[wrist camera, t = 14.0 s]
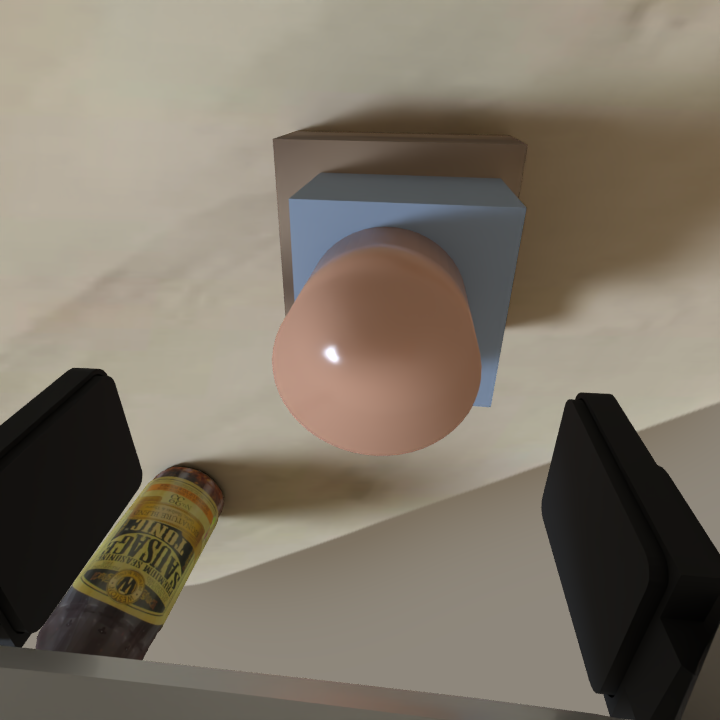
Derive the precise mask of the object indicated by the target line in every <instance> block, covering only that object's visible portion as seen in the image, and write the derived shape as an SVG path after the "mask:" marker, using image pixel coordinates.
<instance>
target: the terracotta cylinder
mask: <svg viewBox="0 0 720 720" xmlns="http://www.w3.org/2000/svg"><path fill="white" fill-rule="evenodd" d="M272 365H273V374H274V379H275V383H276V386H277V389H278V392H279V394H280V396H281V398H282V400H283V402H284V404H285V405H286V407H287V408H288V410H289V411H290V413H291V414H292V415H293V416H294V417H295V418H296V420H297V421H298V422H299V423H300V424H301V425H303V426H304V427H305V428H306V429H307V430H308V431H310V432H311V433H312V434H314V435H315V436H317V437H318V438H320V439H322V440H323V441H325V442H327V443H329V444H331V445H333V446H336V447H338V448H341V449H344V450H347V451H350V452H354V453H359V454H365V455H374V456H389V455H400V454H405V453H409V452H413V451H416V450H420V449H423V448H425V447H427V446H429V445H432V444H434V443H436V442H437V441H439V440H441V439H442V438H444V437H445V436H447V435H448V434H449V433H450V432H452V431H453V430H454V429H455V428H456V427H457V426H458V425H459V424H460V423H461V422H462V421H463V420H464V418H465V417H466V415H467V414H468V413H469V411H470V409H471V408H472V406H473V404H474V402H475V400H476V397H477V394H478V391H479V387H480V382H481V370H482V365H481V356H480V351H479V346H478V342H477V338H476V333H475V329H474V324H473V320H472V315H471V311H470V306H469V302H468V298H467V293H466V289H465V285H464V281H463V278H462V276H461V274H460V271H459V269H458V268H457V266H456V264H455V263H454V261H453V260H452V258H451V257H450V256H449V255H448V254H447V252H446V251H444V250H443V249H442V248H441V247H440V246H439V245H438V244H436V243H435V242H433V241H432V240H430V239H429V238H427V237H425V236H423V235H421V234H419V233H416V232H413V231H411V230H407V229H402V228H397V227H374V228H369V229H364V230H361V231H358V232H355V233H352V234H350V235H348V236H346V237H344V238H343V239H341V240H340V241H338V242H337V243H335V244H334V245H333V246H332V247H331V248H330V249H329V250H327V252H326V253H325V254H324V255H323V256H322V258H321V259H320V260H319V262H318V264H317V265H316V267H315V269H314V270H313V272H312V274H311V275H310V277H309V279H308V280H307V282H306V284H305V285H304V287H303V289H302V290H301V292H300V294H299V295H298V297H297V299H296V300H295V302H294V304H293V305H292V307H291V309H290V310H289V312H288V314H287V315H286V317H285V319H284V320H283V322H282V324H281V326H280V328H279V330H278V333H277V335H276V339H275V343H274V347H273V356H272Z"/></svg>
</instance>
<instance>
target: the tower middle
mask: <svg viewBox="0 0 720 720" xmlns="http://www.w3.org/2000/svg"><path fill="white" fill-rule="evenodd" d="M289 213H290V231H291V249H292V266H293V284H294V302H295V300H296V299H297V297H298V295H299V294H300V292H301V290H302V289H303V287H304V285H305V284H306V282H307V280H308V279H309V277H310V275H311V274H312V272H313V270H314V269H315V267H316V265H317V264H318V262H319V260H320V259H321V258H322V256H323V255H324V254H325V253H326V252H327V250H329V249H330V248H331V247H332V246H333V245H334V244H335V243H337V242H338V241H340V240H341V239H343V238H344V237H346V236H348V235H350V234H352V233H355V232H358V231H361V230H364V229H369V228H374V227H397V228H402V229H407V230H411V231H413V232H416V233H419V234H421V235H423V236H425V237H427V238H429V239H430V240H432V241H433V242H435V243H436V244H438V245H439V246H440V247H441V248H442V249H443V250H444V251H446V252H447V254H448V255H449V256H450V257H451V258H452V260H453V261H454V263H455V264H456V266H457V268H458V269H459V271H460V274H461V276H462V278H463V281H464V285H465V289H466V293H467V298H468V302H469V306H470V311H471V315H472V320H473V324H474V329H475V333H476V338H477V342H478V346H479V351H480V356H481V365H482V370H481V382H480V387H479V391H478V394H477V397H476V400H475V402H474V404H473V406H482V407H491V402H492V396H493V391H494V385H495V380H496V374H497V369H498V363H499V357H500V352H501V346H502V341H503V335H504V330H505V324H506V319H507V313H508V308H509V302H510V296H511V291H512V285H513V280H514V274H515V269H516V263H517V258H518V252H519V247H520V241H521V235H522V230H523V224H524V219H525V213H526V207H525V206H524V204H523V203H522V202H521V201H520V200H519V199H518V198H517V196H516V195H515V194H514V193H513V192H512V191H511V190H510V188H509V187H508V186H507V185H506V184H505V183H504V182H503V181H502V179H501V178H471V177H441V176H411V175H380V174H350V173H319V174H318V175H317V176H316V177H314V178H313V179H312V180H311V181H310V182H308V183H307V184H306V185H305V186H304V187H302V188H301V189H300V190H299V191H298V192H296V193H295V194H294V195H293V196H291V197H290V198H289Z"/></svg>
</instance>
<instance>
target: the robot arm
mask: <svg viewBox="0 0 720 720" xmlns="http://www.w3.org/2000/svg"><path fill="white" fill-rule="evenodd" d="M141 482H142V469H141V466H140V463H139V459H138V456H137V453H136V450H135V446H134V443H133V440H132V437H131V434H130V430H129V427H128V424H127V421H126V417H125V414H124V411H123V408H122V404H121V401H120V398H119V395H118V391H117V388H116V385H115V382H114V380H113V379H112V378H111V377H109V376H107V374H106V373H105V372H104V370H101V369H90V368H72V369H70V370H68V371H67V372H66V373H64V374H63V375H62V376H61V377H59V378H58V379H57V380H56V381H55V382H53V383H52V384H51V385H50V386H48V387H47V388H46V389H45V390H43V391H42V392H41V393H40V394H39V395H37V396H36V397H35V398H34V399H32V400H31V401H30V402H29V403H27V404H26V405H25V406H24V407H23V408H21V409H20V410H19V411H18V412H16V413H15V414H14V415H13V416H11V417H10V418H9V419H8V420H7V421H5V422H4V423H3V424H2V425H0V720H625V719H629V720H720V554H719V552H718V551H717V549H716V548H715V546H714V545H713V543H712V542H711V540H710V538H709V537H708V535H707V534H706V532H705V531H704V529H703V527H702V526H701V524H700V523H699V521H698V520H697V518H696V517H695V515H694V513H693V512H692V510H691V509H690V507H689V506H688V504H687V503H686V501H685V499H684V498H683V496H682V495H681V493H680V492H679V490H678V489H677V487H676V485H675V484H674V482H673V481H672V479H671V478H670V476H669V474H668V473H667V472H666V471H665V470H664V469H663V468H662V467H660V466H658V465H657V464H656V462H655V461H654V459H653V458H652V456H651V454H650V453H649V451H648V450H647V448H646V446H645V445H644V443H643V442H642V440H641V438H640V437H639V435H638V434H637V432H636V430H635V429H634V427H633V426H632V424H631V423H630V421H629V419H628V418H627V416H626V415H625V413H624V411H623V410H622V408H621V407H620V405H619V403H618V402H617V400H616V399H615V397H614V396H613V395H611V394H600V393H579V394H578V395H577V396H576V399H575V400H572V399H569V400H567V402H566V404H565V408H564V412H563V416H562V420H561V424H560V428H559V432H558V436H557V440H556V444H555V448H554V453H553V457H552V461H551V465H550V469H549V473H548V477H547V481H546V485H545V489H544V493H543V498H542V516H543V521H544V524H545V528H546V531H547V534H548V538H549V542H550V545H551V548H552V552H553V555H554V559H555V562H556V566H557V570H558V573H559V576H560V580H561V584H562V587H563V590H564V594H565V598H566V601H567V604H568V608H569V612H570V615H571V618H572V622H573V625H574V629H575V632H576V636H577V639H578V643H579V646H580V650H581V653H582V657H583V660H584V664H585V667H586V671H587V674H588V678H589V681H590V684H591V687H592V688H593V690H594V692H595V693H598V694H604V698H605V701H606V704H607V708H608V711H609V714H610V717H608V716H603V715H598V714H591V713H584V712H576V711H568V710H562V709H554V708H547V707H539V706H532V705H524V704H517V703H509V702H502V701H494V700H487V699H479V698H471V697H463V696H454V695H445V694H436V693H428V692H419V691H411V690H401V689H393V688H384V687H375V686H367V685H359V684H350V683H341V682H332V681H324V680H316V679H307V678H298V677H289V676H280V675H270V674H262V673H253V672H243V671H235V670H225V669H217V668H208V667H198V666H188V665H180V664H171V663H162V662H153V661H143V660H134V659H125V658H116V657H107V656H97V655H88V654H78V653H68V652H59V651H49V650H40V649H29V648H22V646H23V645H24V643H25V642H26V641H27V639H28V638H29V636H30V635H31V634H32V633H34V632H37V631H38V630H39V629H40V628H41V627H42V626H43V625H44V624H45V622H46V621H47V620H48V618H49V617H50V615H51V614H52V612H53V611H54V609H55V608H56V607H57V605H58V604H59V602H60V601H61V599H62V598H63V597H64V595H65V594H66V592H67V591H68V589H69V588H70V586H71V585H72V584H73V582H74V581H75V579H76V578H77V576H78V575H79V574H80V572H81V571H82V569H83V568H84V566H85V565H86V563H87V562H88V561H89V559H90V558H91V556H92V555H93V553H94V552H95V551H96V549H97V548H98V546H99V545H100V543H101V542H102V540H103V539H104V538H105V536H106V535H107V533H108V532H109V530H110V529H111V528H112V526H113V525H114V523H115V522H116V520H117V519H118V517H119V516H120V515H121V513H122V512H123V510H124V509H125V507H126V506H127V505H128V503H129V502H130V500H131V499H132V497H133V496H134V494H135V493H136V492H137V490H138V489H139V487H140V485H141Z"/></svg>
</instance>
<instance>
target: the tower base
mask: <svg viewBox="0 0 720 720" xmlns="http://www.w3.org/2000/svg"><path fill="white" fill-rule="evenodd" d="M273 148H274V162H275V176H276V190H277V204H278V218H279V232H280V246H281V260H282V274H283V288H284V302H285V316H286V315H287V314H288V312H289V310H290V309H291V307H292V305H293V304H294V284H293V266H292V249H291V231H290V213H289V198H290V197H291V196H293V195H294V194H295V193H296V192H298V191H299V190H300V189H301V188H302V187H304V186H305V185H306V184H307V183H308V182H310V181H311V180H312V179H313V178H314V177H316V176H317V175H318V174H319V173H350V174H380V175H411V176H441V177H471V178H501V179H502V181H503V182H504V183H505V184H506V185H507V186H508V187H509V188H510V190H511V191H512V192H513V193H514V194H515V195H516V196H517V198H518V199H519V193H520V187H521V181H522V175H523V169H524V163H525V157H526V151H527V144H525V143H523V142H521V141H519V140H518V139H516V138H514V137H512V136H510V135H463V134H415V133H368V132H321V131H295V132H292V133H289V134H286V135H283V136H280V137H277V138H274V139H273Z"/></svg>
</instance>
